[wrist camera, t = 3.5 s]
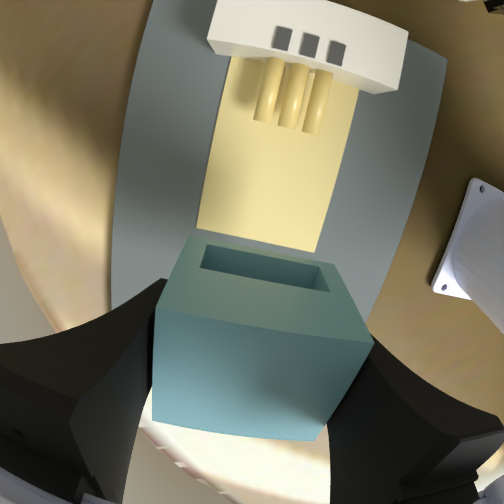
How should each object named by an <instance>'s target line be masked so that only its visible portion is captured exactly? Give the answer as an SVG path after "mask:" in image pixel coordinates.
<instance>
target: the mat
mask: <svg viewBox="0 0 504 504" xmlns="http://www.w3.org/2000/svg"><path fill="white" fill-rule="evenodd" d="M217 1H218V0H154V1H153V4H152V7H151V10H150V14H149V17H148V20H147V24H146V27H145V31H144V34H143V38H142V42H141V46H140V49H139V53H138V57H137V62H136V66H135V70H134V75H133V79H132V84H131V89H130V93H129V99H128V104H127V109H126V115H125V121H124V127H123V133H122V140H121V147H120V154H119V162H118V171H117V180H116V190H115V201H114V215H113V232H112V258H111V306H112V310H113V309H115V308H117V307H118V306H120V305H122V304H123V303H125V302H126V301H128V300H129V299H131V298H132V297H134V296H135V295H137V294H138V293H140V292H141V291H143V290H144V289H146V288H147V287H148V286H150V285H151V284H153V283H154V282H155V281H157V280H159V279H160V278H164V279H169V277H170V274H171V272H172V270H173V268H174V266H175V264H176V262H177V259H178V257H179V255H180V253H181V251H182V249H183V247H184V245H185V243H186V241H187V239H188V237H189V235H193V236H198V237H203V238H208V239H213V240H218V241H223V242H228V243H233V244H238V245H243V246H248V247H253V248H258V249H263V250H268V251H272V252H277V253H282V254H287V255H292V256H297V257H302V258H307V259H312V260H316V261H321V262H326V263H331V264H334V265H335V267H336V269H337V270H338V272H339V274H340V276H341V278H342V280H343V282H344V284H345V285H346V287H347V289H348V291H349V293H350V295H351V297H352V299H353V301H354V303H355V305H356V307H357V309H358V311H359V313H360V315H361V317H362V319H363V321H364V323H365V322H366V320H367V318H368V316H369V314H370V312H371V310H372V307H373V305H374V303H375V301H376V298H377V296H378V294H379V292H380V289H381V287H382V285H383V282H384V280H385V277H386V275H387V273H388V270H389V268H390V265H391V263H392V260H393V258H394V255H395V253H396V250H397V247H398V245H399V242H400V239H401V237H402V234H403V231H404V228H405V226H406V223H407V220H408V217H409V214H410V211H411V208H412V205H413V202H414V199H415V196H416V193H417V190H418V186H419V183H420V180H421V176H422V173H423V170H424V166H425V163H426V159H427V155H428V152H429V148H430V144H431V140H432V136H433V132H434V128H435V124H436V119H437V115H438V110H439V105H440V101H441V96H442V90H443V85H444V80H445V74H446V68H447V61H448V59H446V58H445V57H443V56H441V55H439V54H437V53H435V52H434V51H432V50H430V49H428V48H426V47H424V46H422V45H420V44H418V43H416V42H414V41H412V40H410V39H407V44H406V50H405V55H404V61H403V66H402V71H401V76H400V81H399V86H398V90H395V91H389V92H384V93H378V94H371V93H368V92H365V91H362V90H360V89H358V88H355V87H352V86H349V85H346V84H343V83H340V82H337V81H334V80H332V84H331V88H330V92H329V97H328V101H327V105H326V109H325V113H324V117H323V121H322V125H321V129H320V133H319V136H317V135H313V134H309V133H305V132H302V127H303V123H304V119H305V114H306V110H307V106H308V102H309V98H310V94H311V90H312V86H313V81H314V77H315V75H313V74H310V73H309V74H308V78H307V82H306V86H305V91H304V95H303V99H302V103H301V107H300V111H299V115H298V119H297V123H296V128H295V130H294V129H290V128H286V127H282V126H278V120H279V116H280V112H281V108H282V104H283V100H284V95H285V91H286V87H287V83H288V79H289V75H290V71H291V68H287V67H284V70H283V74H282V78H281V83H280V87H279V91H278V95H277V99H276V103H275V108H274V112H273V116H272V120H271V124H269V123H265V122H260V121H256V120H253V117H254V112H255V108H256V104H257V100H258V95H259V91H260V87H261V83H262V79H263V75H264V71H265V66H266V63H265V62H260V61H255V60H250V59H245V58H239V57H233V56H232V57H231V56H225V55H218V54H215V52H214V50H213V49H212V47H211V45H210V44H209V42H208V41H207V36H208V32H209V29H210V25H211V21H212V18H213V14H214V11H215V8H216V4H217Z"/></svg>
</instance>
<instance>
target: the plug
mask: <svg viewBox="0 0 504 504" xmlns="http://www.w3.org/2000/svg"><path fill="white" fill-rule="evenodd" d="M373 345H374V341H373V339H372V337H371V335H370V333H369V331H368V329H367V327H366V325H365V323H364V321H363V319H362V317H361V315H360V313H359V311H358V309H357V307H356V305H355V303H354V301H353V299H352V297H351V295H350V293H349V291H348V289H347V287H346V285H345V284H344V282H343V280H342V278H341V276H340V274H339V272H338V270H337V269H336V267H335V265H334V264H331V263H326V262H321V261H316V260H312V259H307V258H302V257H297V256H292V255H287V254H282V253H277V252H272V251H268V250H263V249H258V248H253V247H248V246H243V245H238V244H233V243H228V242H223V241H218V240H213V239H208V238H203V237H198V236H193V235H189V237H188V239H187V241H186V243H185V245H184V247H183V249H182V251H181V253H180V255H179V257H178V259H177V262H176V264H175V266H174V268H173V270H172V272H171V274H170V277H169V279H168V281H167V283H166V285H165V288H164V290H163V292H162V294H161V296H160V299H159V301H158V303H157V305H156V311H155V327H154V346H153V376H152V420H153V421H157V422H162V423H166V424H171V425H176V426H181V427H186V428H191V429H197V430H202V431H208V432H215V433H222V434H229V435H237V436H245V437H254V438H265V439H278V440H295V441H314V440H315V439H316V437H317V436H318V435H319V433H320V432H321V430H322V429H323V427H324V426H325V424H326V423H327V421H328V420H329V418H330V417H331V415H332V414H333V412H334V411H335V409H336V408H337V406H338V405H339V403H340V401H341V400H342V398H343V397H344V395H345V393H346V392H347V390H348V388H349V387H350V385H351V383H352V382H353V380H354V378H355V377H356V375H357V373H358V372H359V370H360V368H361V366H362V365H363V363H364V361H365V359H366V357H367V356H368V354H369V352H370V350H371V348H372V347H373Z"/></svg>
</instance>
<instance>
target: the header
mask: <svg viewBox="0 0 504 504" xmlns="http://www.w3.org/2000/svg"><path fill="white" fill-rule="evenodd" d="M407 38H408V31H406V30H404V29H402V28H399V27H397V26H395V25H393V24H390V23H388V22H386V21H383V20H381V19H378V18H376V17H373V16H371V15H368V14H365V13H363V12H360V11H357V10H354V9H352V8H349V7H346V6H343V5H340V4H337V3H333V2H330V1H327V0H218V1H217V4H216V8H215V11H214V14H213V18H212V21H211V25H210V29H209V32H208V36H207V41H208V42H209V44H210V45H211V47H212V49H213V50H214V52H215V54H218V55H225V56H231V57H232V56H233V57H239V58H245V59H250V60H255V61H260V62H265V63H266V66H265V71H264V75H263V79H262V83H261V87H260V91H259V95H258V100H257V104H256V108H255V112H254V117H253V120H256V121H260V122H265V123H269V124H271V120H272V116H273V112H274V108H275V103H276V99H277V95H278V91H279V87H280V83H281V78H282V74H283V70H284V67H287V68H291V71H290V75H289V79H288V83H287V87H286V91H285V95H284V100H283V104H282V108H281V112H280V116H279V120H278V126H282V127H286V128H290V129H294V130H295V128H296V123H297V119H298V115H299V111H300V107H301V103H302V99H303V95H304V91H305V86H306V82H307V78H308V74H309V73H310V74H313V75H315V77H314V81H313V86H312V90H311V94H310V98H309V102H308V106H307V110H306V114H305V119H304V123H303V127H302V132H305V133H309V134H313V135H317V136H319V133H320V129H321V125H322V121H323V117H324V113H325V109H326V105H327V101H328V97H329V92H330V88H331V84H332V80H334V81H337V82H340V83H343V84H346V85H349V86H352V87H355V88H358V89H360V90H362V91H365V92H368V93H371V94H378V93H384V92H389V91H395V90H398V86H399V81H400V76H401V71H402V66H403V61H404V55H405V50H406V44H407Z"/></svg>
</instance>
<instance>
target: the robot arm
mask: <svg viewBox="0 0 504 504" xmlns="http://www.w3.org/2000/svg"><path fill="white" fill-rule="evenodd" d="M480 186H482V188H481V191H480ZM167 281H168V279H164V278H160V279H159V280H157V281H155V282H154V283H153V284H151V285H150V286H148V287H147V288H146V289H144V290H143V291H141V292H140V293H138V294H137V295H135V296H134V297H132V298H131V299H129V300H128V301H126V302H125V303H123V304H122V305H120V306H118V307H117V308H115V309H113V310H111V311H110V312H108V313H106V314H104V315H102V316H100V317H98V318H96V319H94V320H92V321H89V322H87V323H85V324H82V325H80V326H77V327H74V328H71V329H68V330H65V331H62V332H60V333H57V334H53V335H49V336H45V337H41V338H37V339H32V340H27V341H21V342H14V343H5V344H0V504H122V500H123V494H124V489H125V483H126V477H127V473H128V468H129V463H130V459H131V454H132V450H133V445H134V441H135V437H136V433H137V429H138V425H139V422H140V418H141V414H142V411H143V407H144V405H145V402H146V399H147V396H148V394H149V392H150V389H151V387H152V376H153V346H154V327H155V311H156V305H157V303H158V301H159V299H160V296H161V294H162V292H163V290H164V288H165V285H166V283H167ZM444 284H445V285H444ZM443 285H444V287H443V288H442V286H443ZM431 288H432V290H433V291H434V292H436V293H440V294H445V295H450V296H455V297H460V298H465V299H470V300H473V301H474V303H475V304H476V305H477V306H478V307H479V308H480V309H481V310H482V311H483V312H484V313H485V314H486V315H487V316H488V317H489V319H490V320H491V321H492V322H493V323H494V324H495V325H496V326H497V327H498V329H499V330H500V331H501V332H502V333H503V334H504V192H502V191H501V190H499V189H497V188H495V187H493V186H491V185H489V184H488V183H486V182H484V181H482V180H480V179H478V178H472V179H471V180H470V182H469V185H468V188H467V192H466V195H465V198H464V201H463V204H462V207H461V210H460V213H459V216H458V219H457V221H456V224H455V227H454V230H453V232H452V235H451V238H450V240H449V243H448V245H447V248H446V250H445V253H444V255H443V258H442V260H441V263H440V265H439V267H438V270H437V272H436V274H435V276H434V279H433V281H432V283H431ZM370 335H371V334H370ZM371 337H372V339H373V341H374V345H373V347H372V348H371V350H370V352H369V354H368V356H367V357H366V359H365V361H364V363H363V365H362V366H361V368H360V370H359V372H358V373H357V375H356V377H355V378H354V380H353V382H352V383H351V385H350V387H349V388H348V390H347V392H346V393H345V395H344V397H343V398H342V400H341V401H340V403H339V405H338V406H337V408H336V409H335V411H334V412H333V414H332V415H331V417H330V418H329V420H328V421H327V428H328V435H329V448H330V472H331V484H330V504H504V475H503V476H501V477H499V478H498V479H496V480H495V481H493V482H492V483H491V484H489V485H488V486H487V487H486V488H485V489H484V490H483V491H480V492H477V489H476V487H475V484H474V481H476V480H477V479H478V477H479V476H478V474H477V472H476V470H477V469H478V468H479V467H480V466H481V465H482V464H483V463H484V462H486V461H487V460H488V459H489V458H490V457H491V456H492V455H493V454H494V453H495V452H496V451H497V450H498V449H499V448H500V446H501V445H502V444H503V442H504V426H503V424H502V423H501V421H500V419H499V418H498V417H497V416H496V415H493V414H490V413H487V412H485V411H482V410H479V409H476V408H474V407H471V406H469V405H467V404H465V403H463V402H461V401H459V400H457V399H455V398H453V397H451V396H449V395H447V394H446V393H444V392H442V391H441V390H439V389H437V388H436V387H434V386H432V385H431V384H429V383H428V382H426V381H425V380H423V379H422V378H421V377H419V376H418V375H417V374H415V373H414V372H413V371H411V370H410V369H409V368H408V367H406V366H405V365H404V364H403V363H402V362H400V361H399V360H398V359H397V358H396V357H395V356H393V355H392V354H391V353H390V352H389V351H388V350H387V349H386V348H385V347H384V346H383V345H382V344H381V343H380V342H379V341H378V340H376V339H375V338H374V337H373V336H372V335H371Z"/></svg>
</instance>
